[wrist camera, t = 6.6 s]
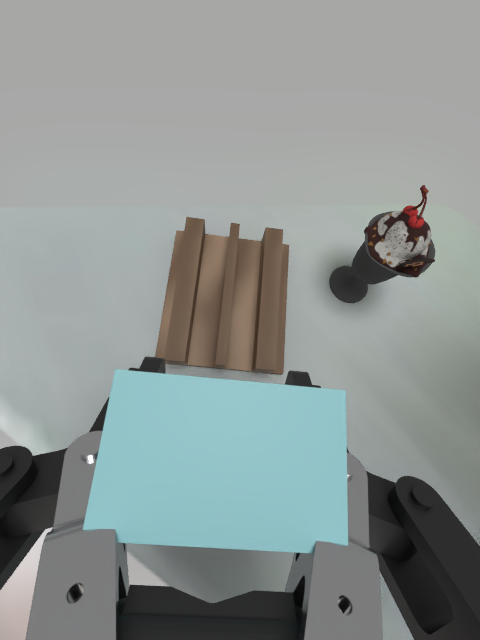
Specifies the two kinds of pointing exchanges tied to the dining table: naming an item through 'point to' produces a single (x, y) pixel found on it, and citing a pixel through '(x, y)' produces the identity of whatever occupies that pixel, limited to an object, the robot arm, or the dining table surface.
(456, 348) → the dining table surface
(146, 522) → the aqua box with feet
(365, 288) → the sundae
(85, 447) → the robot arm
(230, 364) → the rail
